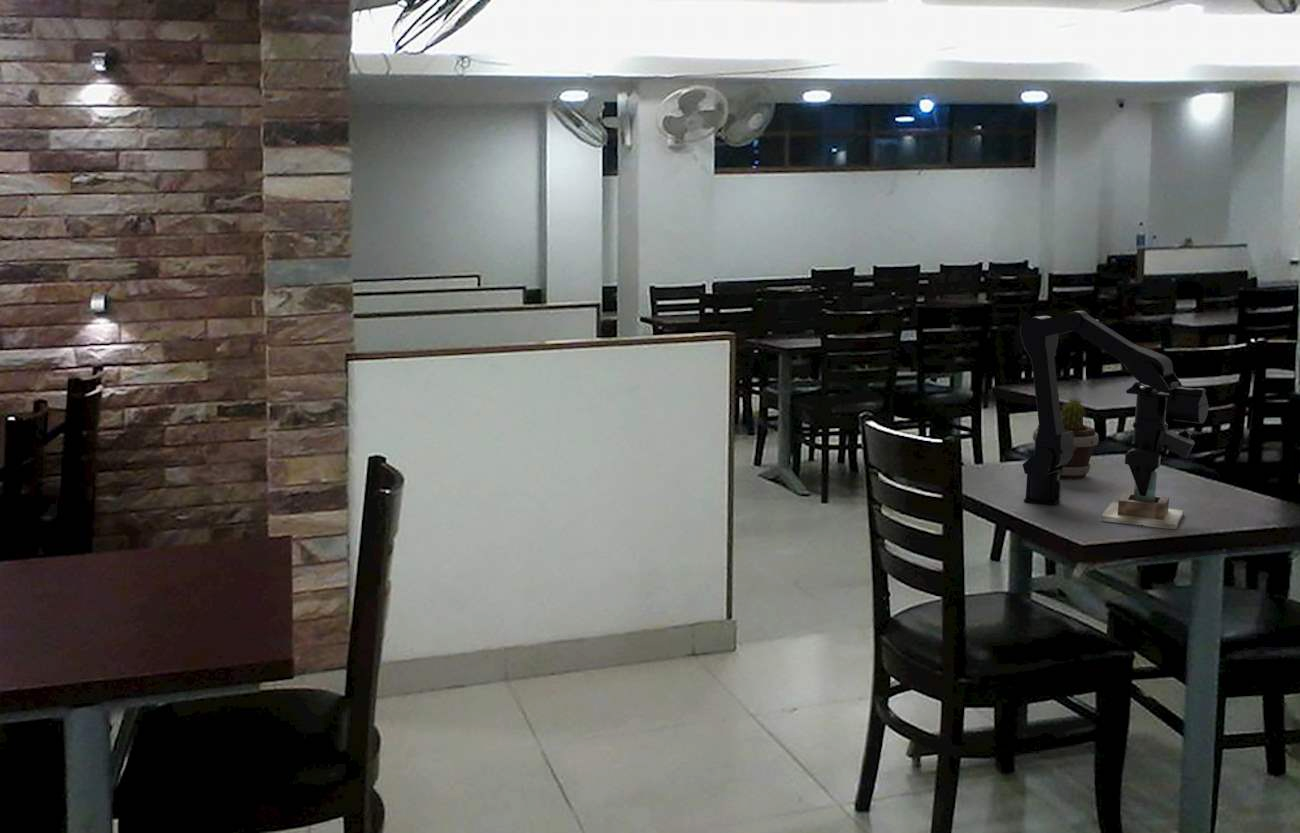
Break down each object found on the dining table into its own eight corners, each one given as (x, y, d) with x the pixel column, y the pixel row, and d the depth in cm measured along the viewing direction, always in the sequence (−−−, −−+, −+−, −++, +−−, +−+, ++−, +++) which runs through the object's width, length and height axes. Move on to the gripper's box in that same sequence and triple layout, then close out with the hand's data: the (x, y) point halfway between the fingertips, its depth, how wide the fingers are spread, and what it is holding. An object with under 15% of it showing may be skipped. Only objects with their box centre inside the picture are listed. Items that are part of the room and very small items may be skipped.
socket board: (1101, 520, 258) (1102, 501, 257) (1111, 506, 270) (1113, 488, 270) (1175, 529, 252) (1177, 509, 251) (1183, 515, 264) (1184, 495, 263)
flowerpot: (1022, 468, 309) (1027, 386, 306) (1086, 470, 308) (1092, 387, 305) (1037, 481, 295) (1043, 395, 291) (1105, 483, 294) (1111, 396, 291)
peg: (1131, 506, 260) (1134, 472, 259) (1134, 502, 263) (1137, 469, 262) (1152, 508, 258) (1155, 474, 257) (1155, 505, 261) (1158, 471, 260)
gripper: (1188, 428, 246) (1182, 507, 248) (1197, 414, 262) (1191, 489, 265) (1127, 422, 251) (1121, 500, 253) (1140, 410, 267) (1134, 483, 270)
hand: (1144, 493), depth 260 cm, fingers closed on peg, 4 cm apart
